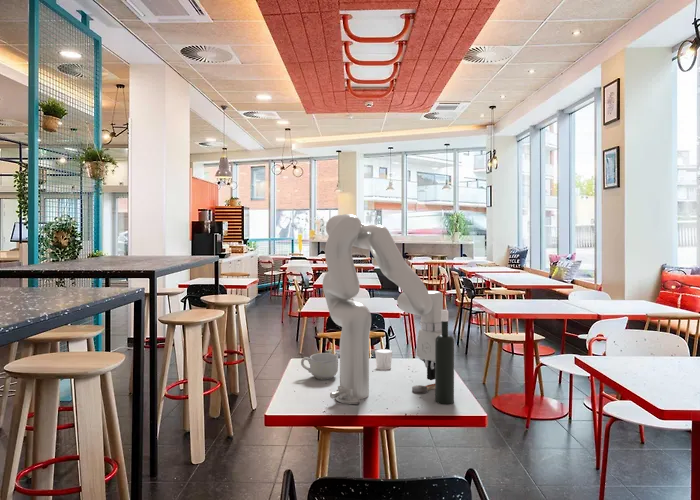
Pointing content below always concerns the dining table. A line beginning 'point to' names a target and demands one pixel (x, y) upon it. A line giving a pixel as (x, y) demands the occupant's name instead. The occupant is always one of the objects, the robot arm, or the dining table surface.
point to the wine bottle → (444, 364)
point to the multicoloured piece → (422, 388)
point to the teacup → (322, 365)
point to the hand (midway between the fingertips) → (431, 378)
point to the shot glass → (383, 359)
